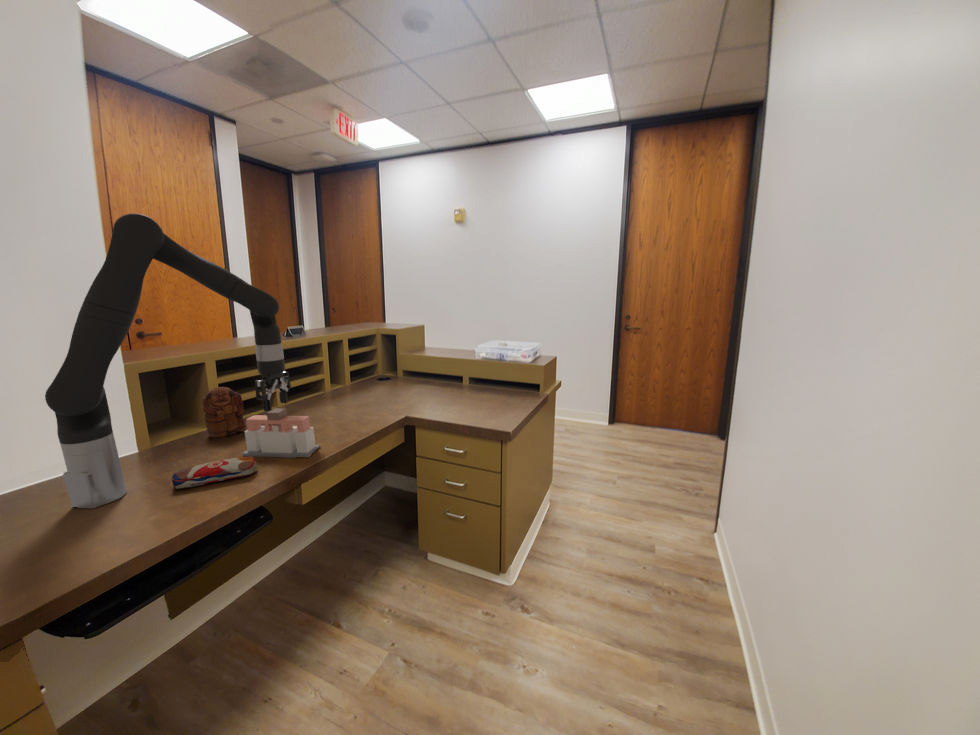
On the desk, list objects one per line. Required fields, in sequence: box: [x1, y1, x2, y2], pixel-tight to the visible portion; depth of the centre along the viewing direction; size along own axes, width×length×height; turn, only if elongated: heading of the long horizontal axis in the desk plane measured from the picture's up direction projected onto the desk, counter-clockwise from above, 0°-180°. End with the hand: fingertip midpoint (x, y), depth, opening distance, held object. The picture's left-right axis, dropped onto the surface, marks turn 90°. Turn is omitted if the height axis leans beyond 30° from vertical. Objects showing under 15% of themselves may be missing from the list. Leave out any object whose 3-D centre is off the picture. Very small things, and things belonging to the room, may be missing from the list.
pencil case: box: [171, 456, 257, 490], centre depth 107 cm, size 11×20×5 cm, turn 103°
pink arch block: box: [245, 407, 311, 432], centre depth 122 cm, size 4×19×6 cm, turn 87°
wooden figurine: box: [202, 386, 246, 438], centre depth 138 cm, size 12×6×18 cm, turn 134°
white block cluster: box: [241, 424, 321, 458], centre depth 124 cm, size 8×22×10 cm, turn 87°
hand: (276, 406), depth 121 cm, fingers open, 8 cm apart
